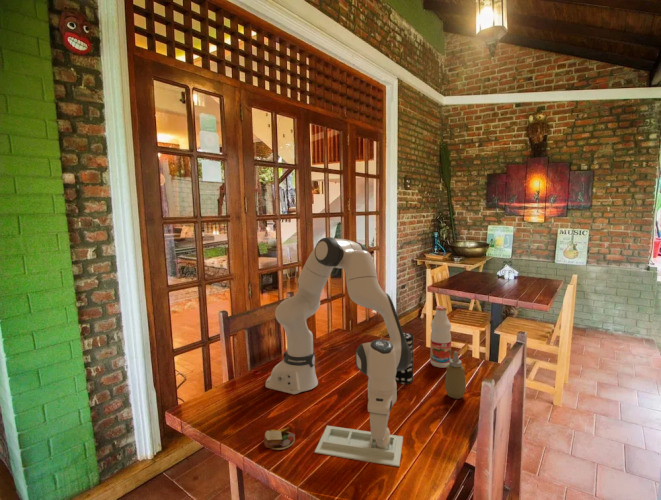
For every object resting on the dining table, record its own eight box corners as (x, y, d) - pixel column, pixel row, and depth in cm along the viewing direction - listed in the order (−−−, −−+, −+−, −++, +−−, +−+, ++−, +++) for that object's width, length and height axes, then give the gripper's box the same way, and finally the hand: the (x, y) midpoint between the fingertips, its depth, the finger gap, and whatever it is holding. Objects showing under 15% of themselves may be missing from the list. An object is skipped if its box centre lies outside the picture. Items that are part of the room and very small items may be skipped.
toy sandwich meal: (295, 450, 115) (294, 440, 114) (262, 453, 114) (262, 443, 113) (295, 432, 124) (294, 422, 124) (264, 435, 123) (264, 425, 123)
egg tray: (314, 452, 113) (314, 446, 113) (327, 426, 126) (327, 421, 126) (399, 466, 106) (399, 460, 106) (403, 437, 119) (403, 431, 119)
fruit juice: (447, 359, 179) (448, 304, 175) (453, 368, 169) (454, 309, 166) (428, 359, 179) (428, 304, 176) (432, 368, 170) (433, 309, 167)
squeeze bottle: (447, 388, 151) (447, 346, 149) (467, 393, 146) (468, 350, 144) (442, 397, 144) (442, 353, 142) (463, 402, 140) (464, 357, 138)
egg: (374, 450, 113) (374, 429, 112) (376, 441, 117) (376, 421, 116) (388, 452, 112) (388, 431, 111) (390, 443, 116) (390, 423, 115)
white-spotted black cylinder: (393, 383, 156) (392, 338, 154) (394, 374, 164) (394, 331, 162) (412, 384, 154) (413, 339, 152) (413, 376, 162) (413, 332, 160)
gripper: (376, 377, 123) (377, 415, 125) (366, 409, 103) (366, 454, 105) (395, 379, 121) (395, 418, 123) (388, 412, 102) (388, 458, 103)
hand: (382, 435), depth 114 cm, fingers open, 8 cm apart
